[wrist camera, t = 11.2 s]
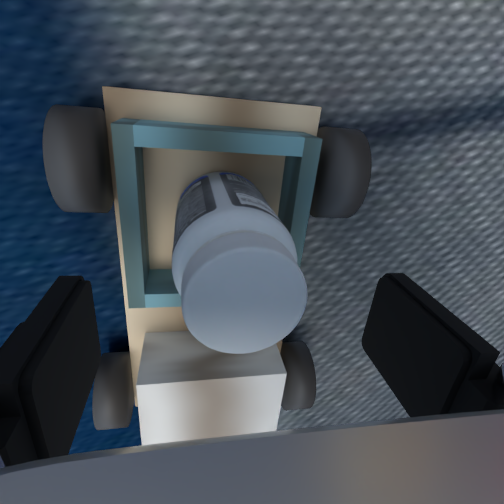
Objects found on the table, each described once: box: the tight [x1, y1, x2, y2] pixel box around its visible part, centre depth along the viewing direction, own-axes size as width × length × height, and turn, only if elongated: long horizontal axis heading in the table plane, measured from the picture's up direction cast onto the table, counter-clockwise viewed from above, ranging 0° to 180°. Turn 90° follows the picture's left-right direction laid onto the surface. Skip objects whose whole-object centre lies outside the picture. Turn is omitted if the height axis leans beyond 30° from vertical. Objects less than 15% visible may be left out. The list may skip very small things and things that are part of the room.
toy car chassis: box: [43, 86, 371, 445], centre depth 18 cm, size 13×20×5 cm, turn 175°
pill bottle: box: [172, 172, 308, 354], centre depth 14 cm, size 5×5×8 cm
